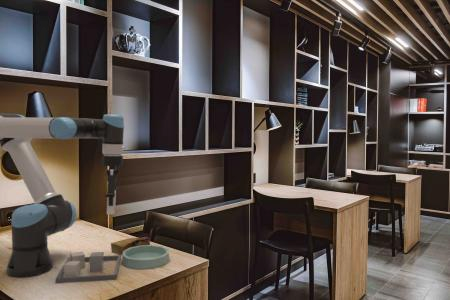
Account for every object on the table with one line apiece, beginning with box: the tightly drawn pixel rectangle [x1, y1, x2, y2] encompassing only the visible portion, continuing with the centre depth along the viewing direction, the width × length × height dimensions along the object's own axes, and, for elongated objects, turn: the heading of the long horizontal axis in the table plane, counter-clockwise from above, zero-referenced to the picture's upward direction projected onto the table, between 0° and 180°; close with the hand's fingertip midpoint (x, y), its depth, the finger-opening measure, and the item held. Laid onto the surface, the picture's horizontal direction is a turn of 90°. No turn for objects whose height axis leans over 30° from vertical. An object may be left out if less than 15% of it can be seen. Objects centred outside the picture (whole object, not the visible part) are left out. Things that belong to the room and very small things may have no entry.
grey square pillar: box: [89, 251, 105, 273], centre depth 141 cm, size 4×4×6 cm
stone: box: [110, 236, 151, 256], centre depth 165 cm, size 15×9×5 cm, turn 134°
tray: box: [55, 254, 122, 284], centre depth 141 cm, size 20×21×2 cm
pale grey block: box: [69, 250, 86, 269], centre depth 144 cm, size 4×4×5 cm
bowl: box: [121, 244, 170, 270], centre depth 151 cm, size 18×18×4 cm
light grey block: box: [63, 261, 82, 277], centre depth 134 cm, size 4×4×5 cm
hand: (111, 210), depth 145 cm, fingers open, 13 cm apart
